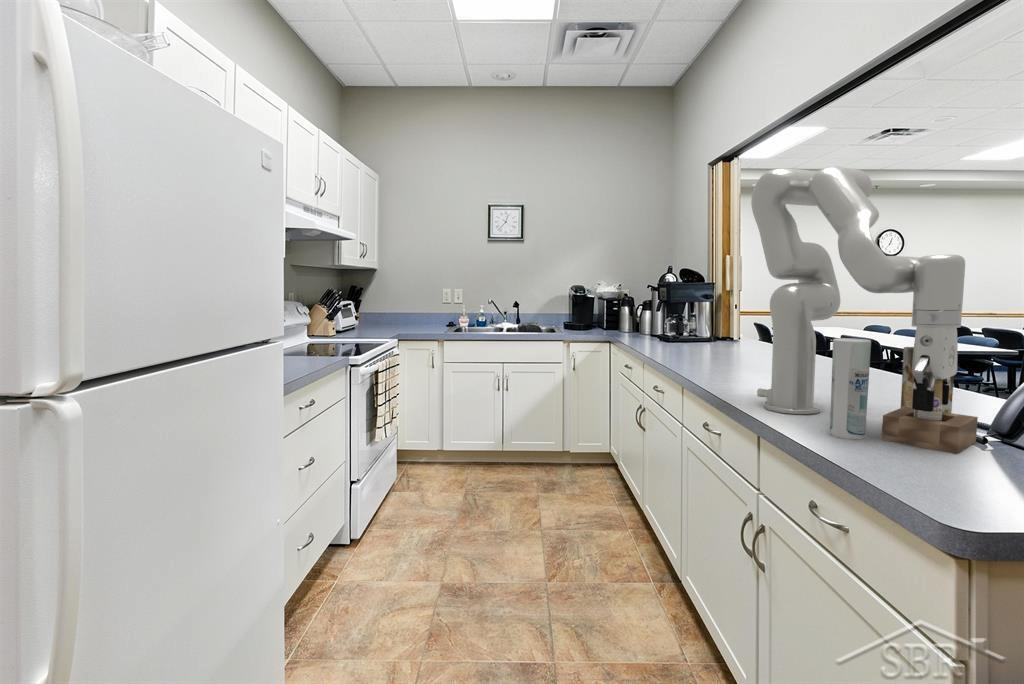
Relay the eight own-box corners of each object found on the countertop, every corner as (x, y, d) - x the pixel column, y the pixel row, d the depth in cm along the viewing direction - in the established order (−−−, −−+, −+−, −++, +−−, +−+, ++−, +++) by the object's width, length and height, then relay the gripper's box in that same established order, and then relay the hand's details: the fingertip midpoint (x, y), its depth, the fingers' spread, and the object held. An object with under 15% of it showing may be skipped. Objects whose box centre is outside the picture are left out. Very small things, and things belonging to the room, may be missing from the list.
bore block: (881, 439, 106) (882, 415, 105) (903, 429, 113) (904, 406, 112) (957, 454, 96) (959, 427, 96) (975, 441, 103) (977, 416, 103)
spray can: (841, 429, 114) (845, 337, 111) (872, 436, 108) (878, 339, 106) (822, 433, 111) (826, 339, 109) (853, 441, 105) (858, 341, 103)
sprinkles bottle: (926, 438, 102) (928, 369, 101) (906, 432, 107) (908, 367, 106) (948, 437, 103) (950, 368, 102) (927, 431, 107) (929, 366, 106)
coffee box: (952, 421, 119) (957, 350, 117) (921, 420, 120) (926, 350, 118) (926, 411, 128) (931, 346, 126) (898, 411, 129) (902, 346, 127)
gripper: (946, 322, 94) (939, 417, 96) (973, 317, 104) (967, 403, 106) (896, 320, 100) (891, 410, 102) (927, 316, 110) (922, 398, 112)
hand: (930, 406), depth 104 cm, fingers open, 8 cm apart
